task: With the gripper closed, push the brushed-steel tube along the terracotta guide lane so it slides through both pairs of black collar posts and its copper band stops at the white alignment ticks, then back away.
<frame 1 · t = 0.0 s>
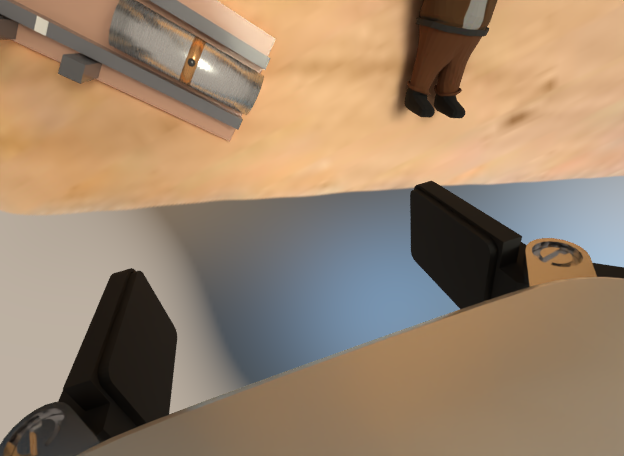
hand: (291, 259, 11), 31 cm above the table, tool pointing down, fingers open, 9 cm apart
steel tube: (193, 60, 33), point 1 cm above the table, touching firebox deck
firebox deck: (131, 25, 31), on the table
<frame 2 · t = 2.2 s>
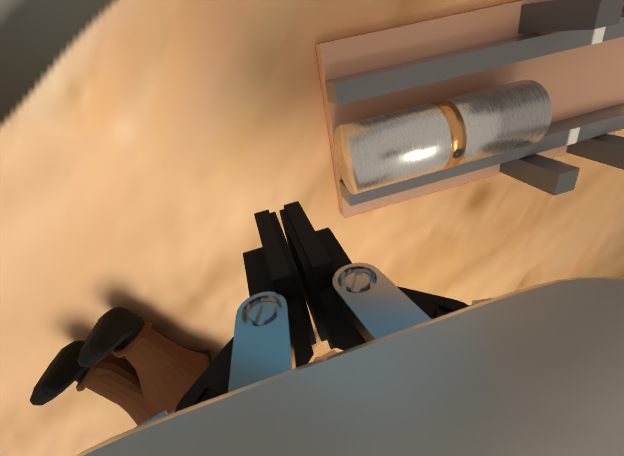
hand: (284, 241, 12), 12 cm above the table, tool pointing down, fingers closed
steel tube: (420, 121, 23), point 1 cm above the table, tilted 15°, touching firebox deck
toy: (226, 383, 33), on the table
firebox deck: (485, 100, 25), on the table
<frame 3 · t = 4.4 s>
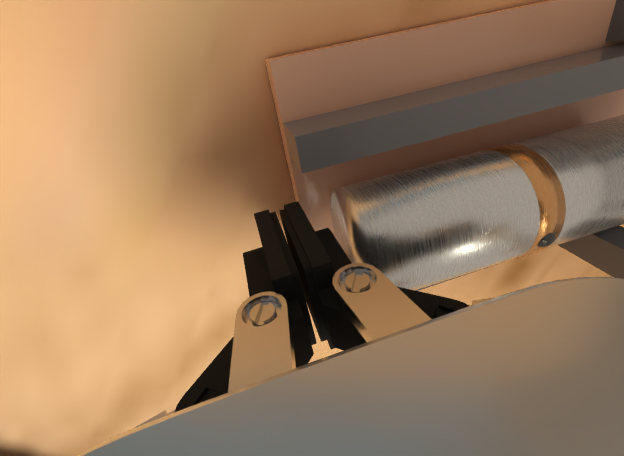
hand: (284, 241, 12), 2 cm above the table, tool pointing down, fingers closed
steel tube: (468, 172, 15), point 1 cm above the table, tilted 13°, touching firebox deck, gripper
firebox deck: (538, 142, 16), on the table
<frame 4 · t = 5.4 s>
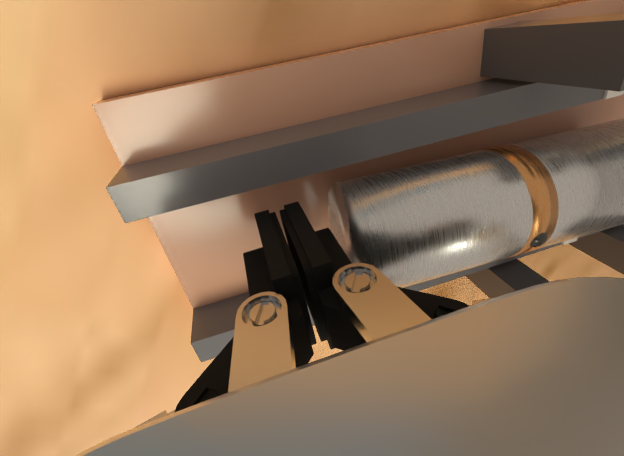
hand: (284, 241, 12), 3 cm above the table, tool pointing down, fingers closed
steel tube: (464, 172, 15), point 1 cm above the table, tilted 14°, touching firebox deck, gripper
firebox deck: (434, 174, 16), on the table
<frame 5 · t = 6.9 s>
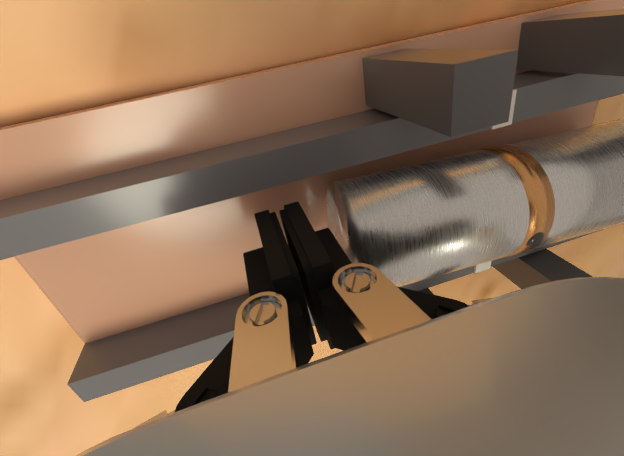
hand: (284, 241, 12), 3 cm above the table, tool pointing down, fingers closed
steel tube: (462, 172, 15), point 1 cm above the table, tilted 14°, touching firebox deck, gripper
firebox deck: (340, 200, 15), on the table
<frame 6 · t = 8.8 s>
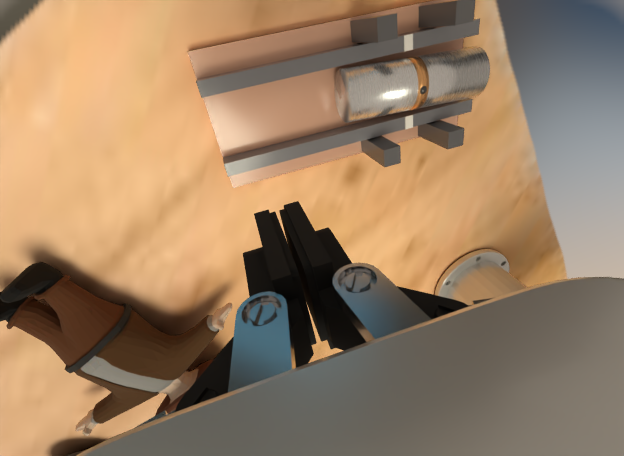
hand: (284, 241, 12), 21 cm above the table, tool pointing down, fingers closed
steel tube: (398, 78, 31), point 1 cm above the table, tilted 6°, touching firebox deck
toy: (148, 335, 40), on the table
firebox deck: (340, 93, 31), on the table
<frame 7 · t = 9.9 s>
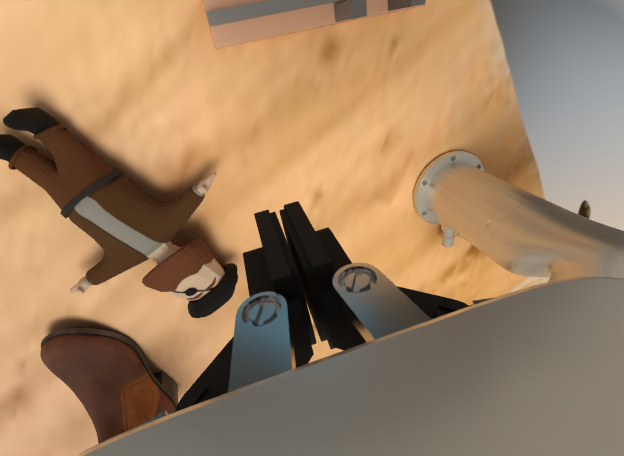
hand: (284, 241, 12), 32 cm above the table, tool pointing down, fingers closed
toy: (139, 211, 43), on the table
boot: (123, 362, 54), on the table
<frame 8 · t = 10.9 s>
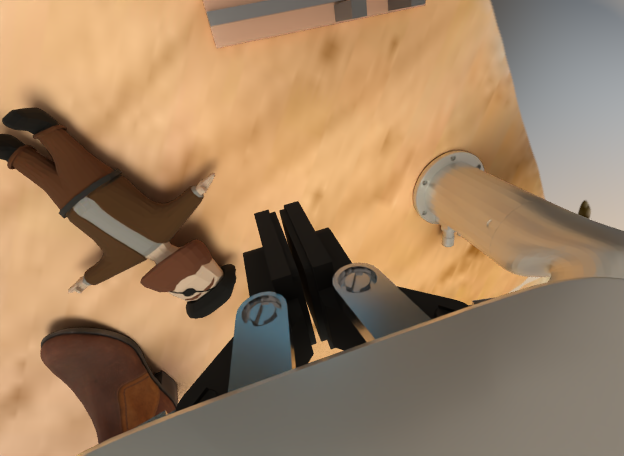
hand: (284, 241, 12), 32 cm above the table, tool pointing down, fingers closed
toy: (137, 211, 43), on the table
boot: (123, 362, 54), on the table
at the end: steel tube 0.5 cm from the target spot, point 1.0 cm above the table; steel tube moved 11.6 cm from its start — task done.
